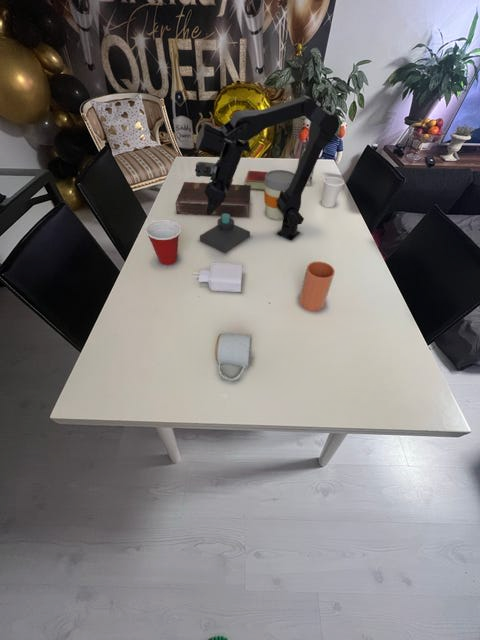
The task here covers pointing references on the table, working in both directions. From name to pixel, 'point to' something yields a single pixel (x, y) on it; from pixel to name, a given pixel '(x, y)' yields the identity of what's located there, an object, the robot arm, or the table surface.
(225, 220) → the button
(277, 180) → the reusable coffee cup
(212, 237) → the dark grey base plate
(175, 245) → the plastic cup
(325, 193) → the dixie cup
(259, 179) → the hardcover book
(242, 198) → the hardback book
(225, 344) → the ceramic mug
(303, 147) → the coffee box
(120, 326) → the table surface
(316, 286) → the cup
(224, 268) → the charger
